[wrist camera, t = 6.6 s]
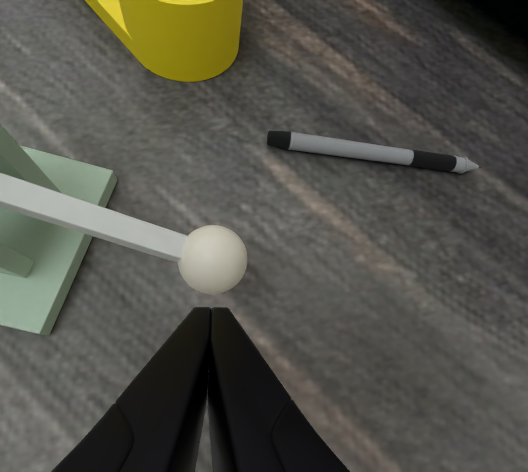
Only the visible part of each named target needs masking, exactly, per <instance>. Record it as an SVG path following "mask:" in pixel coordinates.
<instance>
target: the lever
mask: <svg viewBox="0 0 528 472" xmlns="http://www.w3.org/2000/svg"><path fill="white" fill-rule="evenodd" d="M0 207H1V208H4V209H8V210H11V211H14V212H17V213H20V214H23V215H27V216H30V217H33V218H36V219H39V220H43V221H46V222H49V223H52V224H55V225H59V226H62V227H65V228H68V229H71V230H75V231H78V232H81V233H84V234H87V235H90V236H94V237H97V238H100V239H103V240H106V241H110V242H113V243H116V244H119V245H122V246H126V247H129V248H132V249H135V250H138V251H141V252H145V253H148V254H151V255H154V256H157V257H161V258H164V259H167V260H170V261H173V262H177V263H178V267H179V271H180V273H181V276H182V277H183V279H184V280H185V282H186V283H187V284H188V285H189V286H190V287H192V288H193V289H195V290H197V291H199V292H201V293H205V294H219V293H223V292H226V291H228V290H230V289H231V288H233V287H234V286H235V285H237V284H238V282H239V281H240V280H241V279H242V277H243V275H244V273H245V271H246V267H247V252H246V248H245V246H244V243H243V242H242V240H241V239H240V238H239V236H238V235H237V234H236V233H234V232H233V231H231V230H230V229H228V228H225V227H222V226H217V225H208V226H203V227H201V228H198V229H196V230H194V231H193V232H191V233H190V234H189V235H188V236H186V235H183V234H180V233H178V232H175V231H172V230H169V229H166V228H163V227H160V226H157V225H154V224H151V223H148V222H145V221H142V220H139V219H136V218H133V217H130V216H127V215H124V214H121V213H118V212H115V211H112V210H109V209H106V208H104V207H101V206H98V205H95V204H92V203H89V202H86V201H83V200H80V199H77V198H74V197H71V196H68V195H65V194H62V193H59V192H56V191H53V190H50V189H47V188H44V187H41V186H38V185H35V184H32V183H30V182H27V181H24V180H21V179H18V178H15V177H12V176H9V175H6V174H3V173H0Z"/></svg>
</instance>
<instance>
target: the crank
mask: <svg viewBox="0 0 528 472" xmlns="http://www.w3.org/2000/svg"><path fill="white" fill-rule="evenodd" d="M85 1H86V2H87V4H88V5H89V6H90V7H91V8H92V9H93V10H94V11H95V13H96V14H97V15H98V16H99V17H100V18H101V19H102V20H103V21H104V23H105V24H106V25H107V26H108V27H109V28H110V29H111V30H112V32H113V33H114V34H115V35H116V36H117V37H118V38H119V39H120V41H121V42H122V43H123V44H124V45H125V46H126V47H127V48H128V49H129V51H130V52H131V53H132V54H133V55H134V56H135V57H136V58H137V60H138V61H139V62H140V63H141V64H142V65H143V66H145V67H146V68H147V69H148V70H150V71H151V72H153V73H155V74H157V75H159V76H162V77H164V78H167V79H171V80H175V81H183V82H195V81H202V80H207V79H210V78H213V77H215V76H217V75H219V74H221V73H222V72H224V71H225V70H226V69H228V68H229V67H230V66H231V64H232V63H233V62H234V60H235V58H236V56H237V53H238V48H239V38H240V27H241V16H242V5H243V0H85Z"/></svg>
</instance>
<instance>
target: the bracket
mask: <svg viewBox="0 0 528 472" xmlns="http://www.w3.org/2000/svg"><path fill="white" fill-rule="evenodd" d="M0 173H3V174H6V175H9V176H12V177H15V178H18V179H21V180H24V181H27V182H30V183H32V184H35V185H38V186H41V187H44V188H47V189H50V190H53V191H56V192H59V193H62V194H65V195H68V196H71V197H74V198H77V199H80V200H83V201H86V202H89V203H92V204H95V205H98V206H101V207H104V208H105V207H106V205H107V203H108V201H109V198H110V196H111V194H112V192H113V189H114V187H115V185H116V182H117V178H116V176H115V174H114V172H113V171H112V170H109V169H105V168H101V167H98V166H94V165H90V164H87V163H83V162H79V161H75V160H72V159H68V158H64V157H61V156H57V155H53V154H50V153H46V152H42V151H38V150H35V149H31V148H27V147H24V146H20V145H19V144H18V143H17V142H16V141H15V140H14V138H13V137H12V136H11V135H10V134H9V133H8V132H7V131H6V129H5V128H4V127H3V126H2V125H1V124H0ZM92 237H93V236H90V235H87V234H84V233H81V232H78V231H75V230H71V229H68V228H65V227H62V226H59V225H55V224H52V223H49V222H46V221H43V220H39V219H36V218H33V217H30V216H27V215H23V214H20V213H17V212H14V211H11V210H8V209H4V208H1V207H0V325H3V326H7V327H11V328H15V329H19V330H23V331H28V332H32V333H36V334H41V335H50V332H51V330H52V328H53V326H54V323H55V321H56V319H57V317H58V314H59V312H60V310H61V307H62V305H63V303H64V301H65V298H66V296H67V294H68V292H69V289H70V287H71V285H72V282H73V280H74V278H75V276H76V273H77V271H78V269H79V267H80V264H81V262H82V260H83V257H84V255H85V253H86V251H87V248H88V246H89V244H90V242H91V239H92Z"/></svg>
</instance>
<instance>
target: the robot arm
mask: <svg viewBox="0 0 528 472" xmlns="http://www.w3.org/2000/svg"><path fill="white" fill-rule="evenodd" d="M208 369H209V372H208ZM207 390H208V415H209V428H210V441H211V454H212V467H213V472H350V471H349V470H348V469H347V468H346V466H345V465H344V464H343V463H342V462H341V461H340V460H339V459H338V457H337V456H336V455H335V454H334V453H333V452H332V450H331V449H330V448H329V447H328V446H327V445H326V443H325V442H324V441H323V440H322V439H321V437H320V436H319V435H318V434H317V433H316V431H315V430H314V429H313V427H312V426H311V425H310V423H309V422H308V421H307V419H306V418H305V417H304V415H303V414H302V413H301V411H300V410H299V408H298V407H297V405H296V404H295V402H294V401H293V400H291V397H290V395H289V394H288V393H287V391H286V390H285V388H284V387H283V385H282V384H281V383H280V381H279V380H278V378H277V377H276V375H275V374H274V373H273V371H272V370H271V368H270V367H269V365H268V364H267V363H266V361H265V360H264V358H263V357H262V355H261V354H260V353H259V351H258V350H257V348H256V347H255V345H254V344H253V343H252V341H251V340H250V338H249V337H248V335H247V334H246V333H245V331H244V330H243V328H242V327H241V325H240V324H239V322H238V321H237V320H236V318H235V317H234V315H233V314H232V312H231V311H230V310H229V308H227V307H213V308H212V310H211V308H209V307H195V308H193V309H192V311H191V312H190V313H189V314H188V315H187V317H186V318H185V319H184V320H183V321H182V323H181V324H180V325H179V326H178V327H177V329H176V330H175V331H174V332H173V333H172V335H171V336H170V337H169V338H168V339H167V341H166V342H165V343H164V344H163V345H162V347H161V348H160V349H159V350H158V351H157V353H156V354H155V355H154V356H153V357H152V359H151V360H150V361H149V362H148V363H147V364H146V366H145V367H144V368H143V369H142V370H141V372H140V373H139V374H138V375H137V376H136V378H135V379H134V380H133V381H132V382H131V384H130V385H129V386H128V387H127V388H126V390H125V391H124V392H123V393H122V394H121V396H120V397H119V398H118V399H117V400H116V403H115V404H113V405H112V406H111V407H110V408H109V410H108V411H107V412H106V413H105V415H104V416H103V417H102V418H101V419H100V420H99V422H98V423H97V424H96V425H95V426H94V427H93V428H92V430H91V431H90V432H89V433H88V434H87V435H86V436H85V437H84V439H83V440H82V441H81V442H80V443H79V444H78V445H77V446H76V447H75V448H74V449H73V450H72V451H71V452H70V453H69V454H68V455H67V456H66V457H65V458H64V459H63V460H62V461H61V462H60V463H59V464H58V465H57V466H56V467H55V468H54V469H53V470H52V471H51V472H195V467H196V461H197V455H198V449H199V443H200V438H201V432H202V426H203V420H204V414H205V408H206V401H207Z"/></svg>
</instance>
